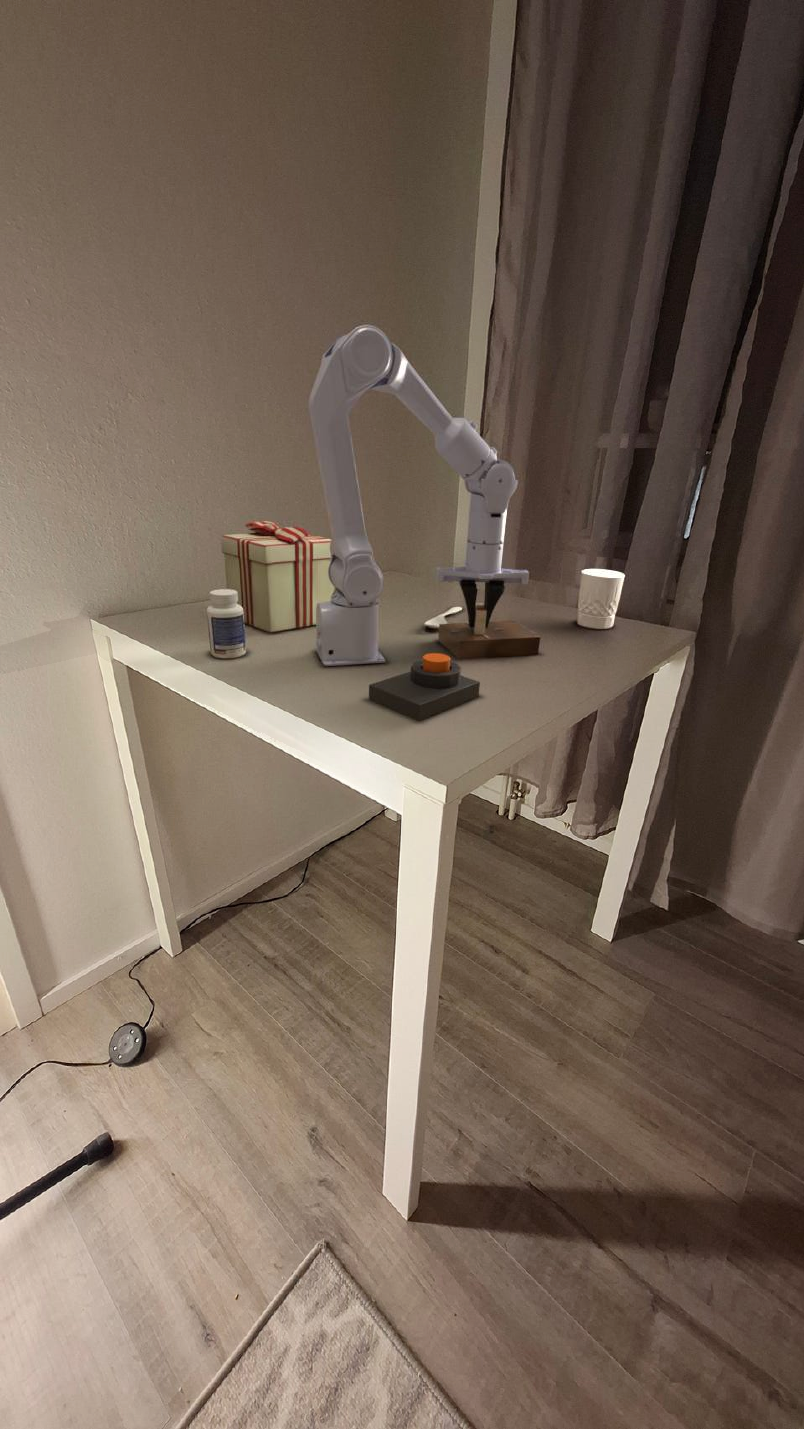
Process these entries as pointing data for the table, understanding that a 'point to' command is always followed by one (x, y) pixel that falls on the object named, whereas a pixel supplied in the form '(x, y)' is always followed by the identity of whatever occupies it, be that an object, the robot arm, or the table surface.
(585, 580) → the white cup
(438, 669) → the power button
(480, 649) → the dial panel
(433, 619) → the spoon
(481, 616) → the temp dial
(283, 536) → the gift box
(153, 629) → the table surface
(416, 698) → the button base
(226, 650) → the pill bottle
